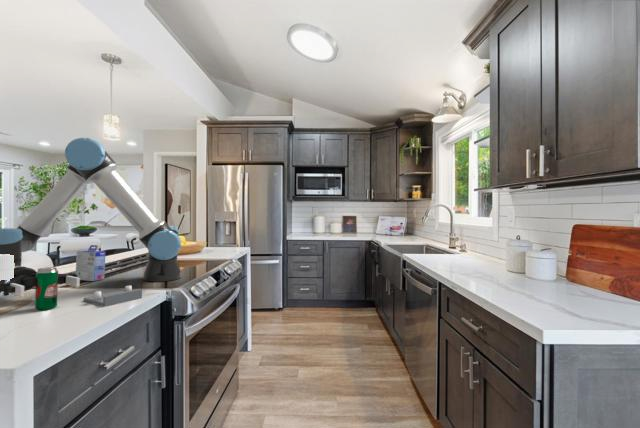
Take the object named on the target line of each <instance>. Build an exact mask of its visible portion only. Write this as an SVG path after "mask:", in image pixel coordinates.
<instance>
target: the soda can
mask: <svg viewBox="0 0 640 428" xmlns="http://www.w3.org/2000/svg"><path fill="white" fill-rule="evenodd" d="M57 268H58V267H53V266H51V267H50V266H49V267H47V266H46V267H41V268H38V269H37V270H36V286H35V295H34V297H35V298H34V301H35V302H34V309H35V310H36V311H38V312H39V311H41V312H42V311H43V312H44V311H49V310H50V311H51V310H54V309H55V308H57V307H58V293H59V292H58V289H59V284H58V274H59V270H58V269H57Z"/></svg>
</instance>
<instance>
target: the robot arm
mask: <svg viewBox="0 0 640 428" xmlns="http://www.w3.org/2000/svg"><path fill="white" fill-rule="evenodd" d="M64 157H65V159H66V162H67V163H68V164H69V165H68V166H67V167H66V173H65V174H64V175H63V176H62V177H61V179H59V180H58V182H57V183H55V185H54V186H53V188H51V189H50V191H48V193H47V194H46V195H45V196H44V198H42V200H40V202H39V203H38V204H37V205H36V206H35V207H34V209H33V210H32V211H31V212H30V213H29V214H28V215H27V216H26V217H25V219H23V220H22V222H21V223H20V224H19V225H18V226H17V227H16V228H14V227H13V228H0V254H10V255H14V263H15V268H14V278H12V279H10V281H8V282H7V280H1V281H0V294H1V293H2V296H3V297H8V296H10V294H11V295H12V294H13V295H15V296H18V297H24V296H25V292H27V291H30V290H31V289H33V288H34V287H36V272H37V270H35V269H33V268H31V267H26V266H23V265H22V255H23V254H22V253H25V252H28V251H30V250H32V249H33V248H34V247H36V245H37V244H38V241H39V239H40V238H41V237H42V236H43V234H44V233H45V232H46V231H47V229H49V228H50V227H51V226H52V225H53V223H54V222H55V221H56V220H57V219H58V218H59V217H60V215H61V214H62V213H63V212H64V211H65V209H66V208H67V207H68V206H69V205H70V204H71V203H72V202H73V200H74V199H75V198H76V197H77V196H78V195H79V193H81V192H82V190H83V189H84V188H85V187H86V186H87V185H89V184H92V183H93V184H94V185H95V186H97V187H98V189H99V190H100V191H101V192H102V193H103V194H104V195H105V197H106V198H107V199H108V200H109V201H110V202H111V203H112V204H113V206H114V207H115V208H116V209H117V210H118V211H119V212H120V213H121V214H122V215H123V217H124V218H125V219H126V220H127V222H129V223H130V225H131V226H132V227H133V228H134V229H135V230H136V231H137V233H138V240H139V241H140V242H141V244H143V245H144V247H145V248H146V249H147V251H148V253H147V254H148V256H147V258H148V259H147V264H146V266H145V269H144V272H143V275H142V280H143V281H145V282H170V281H175V280H179V279H181V278H182V272H181V268H180V264H179V261H178V253H179V252H180V250H181V246H182V241H181V238H180V235H179V228H178V227H177V226H175V225H169V224H168V223H167V221H165V220H161V219H159V218H158V217H157V216H156V215H155V214H154V213H153V212H152V210H151V209H150V208H149V207H148V205H146V203H145V202H144V201H143V200H142V198H141V197H140V196H139V195H138V194H137V192H136V191H135V190H134V189H133V188H132V187H131V186H130V185H129V183H128V182H127V181H126V180H125V179H124V178H123V176H122V175H121V174H120V173H119V172H118V171H117V168H118V167H117V166H118V164H117V162H115V160H114V159H113V158H112V157H111V156H110V154H109V153H107V151H106V150H105V149H104V147H103V145H102V144H101V143H100V142H98V141H97V140H95V139H92V138H89V137H77V138H74V139H73V140H71V141H70V142H68V143H67V145H66V146H65V150H64ZM80 281H81V280H80V278H78V277H77V274H76V273H72V272H69V273H58V285H60V284H65V285H66V286H70V287H75V288H79V287H80V283H81V282H80Z"/></svg>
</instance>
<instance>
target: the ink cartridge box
mask: <svg viewBox="0 0 640 428" xmlns="http://www.w3.org/2000/svg"><path fill="white" fill-rule="evenodd" d="M93 247H94V248H93ZM98 247H99V245H97V244H96V245H94V244H91V245H90V246H89V247H88V249H87V250H76V258H75V259H76V260H75V274H77V277H78V278H80V281H90V282H96V281H101V280H105V277H106V276H105V274H106V272H105V271H106V251H105V250H97V248H98Z"/></svg>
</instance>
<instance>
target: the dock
mask: <svg viewBox="0 0 640 428" xmlns="http://www.w3.org/2000/svg"><path fill="white" fill-rule="evenodd" d="M132 288H133V286H132V285H126V286H124V290H117V291H111V292H106V293H102V291H101V290H100V291H94V292H93V295H92V296H86V297H85V296H84V297H83V302H87V303H90V304H93V303H94V305H97V304H98V306H101V305H102V306H101V307H109V305H110V306H114V305H117V304H122V303H127V302H131V301H135V300H139V299H142V298H143V288H138V289H137V288H136V289H135V290H134V289H132Z"/></svg>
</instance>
